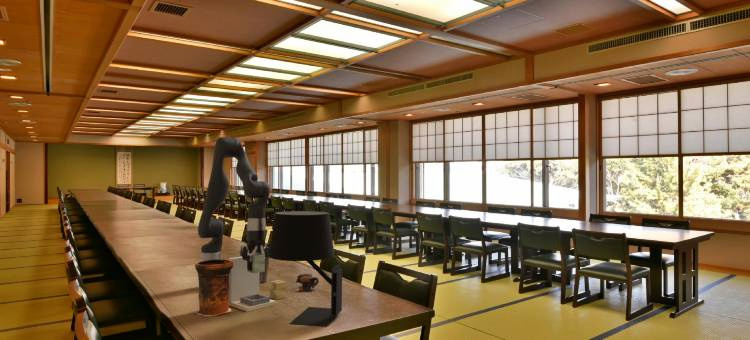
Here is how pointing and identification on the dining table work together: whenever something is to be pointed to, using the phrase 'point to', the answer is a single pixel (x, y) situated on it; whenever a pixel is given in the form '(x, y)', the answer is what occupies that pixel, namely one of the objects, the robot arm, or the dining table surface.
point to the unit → (245, 288)
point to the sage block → (258, 264)
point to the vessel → (213, 286)
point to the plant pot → (262, 274)
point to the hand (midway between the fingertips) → (255, 269)
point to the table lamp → (308, 256)
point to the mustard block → (278, 289)
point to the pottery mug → (307, 282)
